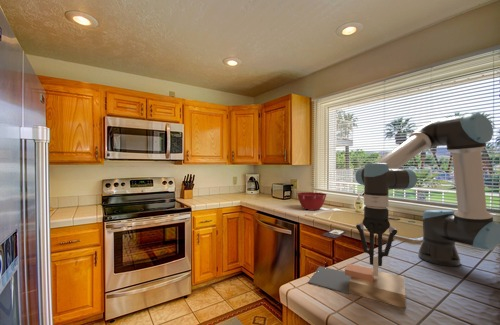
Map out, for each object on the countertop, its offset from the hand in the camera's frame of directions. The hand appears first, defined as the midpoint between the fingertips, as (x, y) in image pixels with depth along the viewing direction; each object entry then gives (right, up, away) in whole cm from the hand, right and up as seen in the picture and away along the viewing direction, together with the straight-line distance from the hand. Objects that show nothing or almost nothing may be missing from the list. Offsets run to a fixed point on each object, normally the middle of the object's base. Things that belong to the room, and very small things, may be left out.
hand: (375, 274), depth 81 cm
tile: (-4, -2, +3) cm, 5 cm away
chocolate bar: (+9, -7, +66) cm, 67 cm away
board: (0, -6, 0) cm, 6 cm away
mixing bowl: (+17, -8, +150) cm, 151 cm away
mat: (-12, -6, +8) cm, 16 cm away
